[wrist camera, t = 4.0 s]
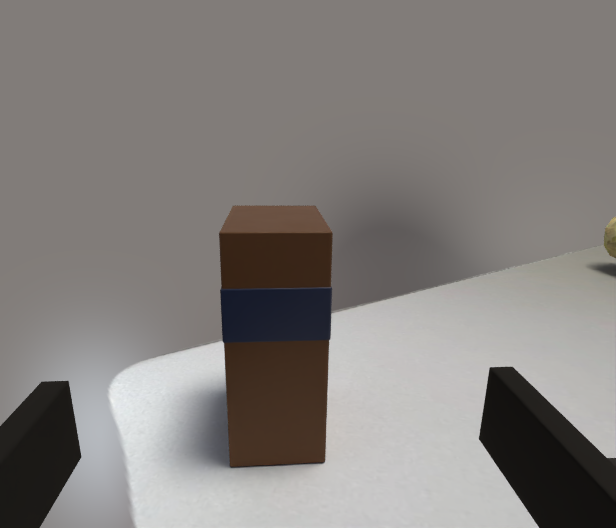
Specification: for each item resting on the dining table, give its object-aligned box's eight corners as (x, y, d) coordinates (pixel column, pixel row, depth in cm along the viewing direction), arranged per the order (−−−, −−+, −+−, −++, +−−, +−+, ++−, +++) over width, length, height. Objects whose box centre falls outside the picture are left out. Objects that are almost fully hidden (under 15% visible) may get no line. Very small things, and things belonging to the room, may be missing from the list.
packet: (326, 463, 20) (334, 231, 17) (228, 468, 20) (217, 232, 16) (312, 385, 26) (316, 205, 23) (238, 387, 26) (231, 205, 23)
